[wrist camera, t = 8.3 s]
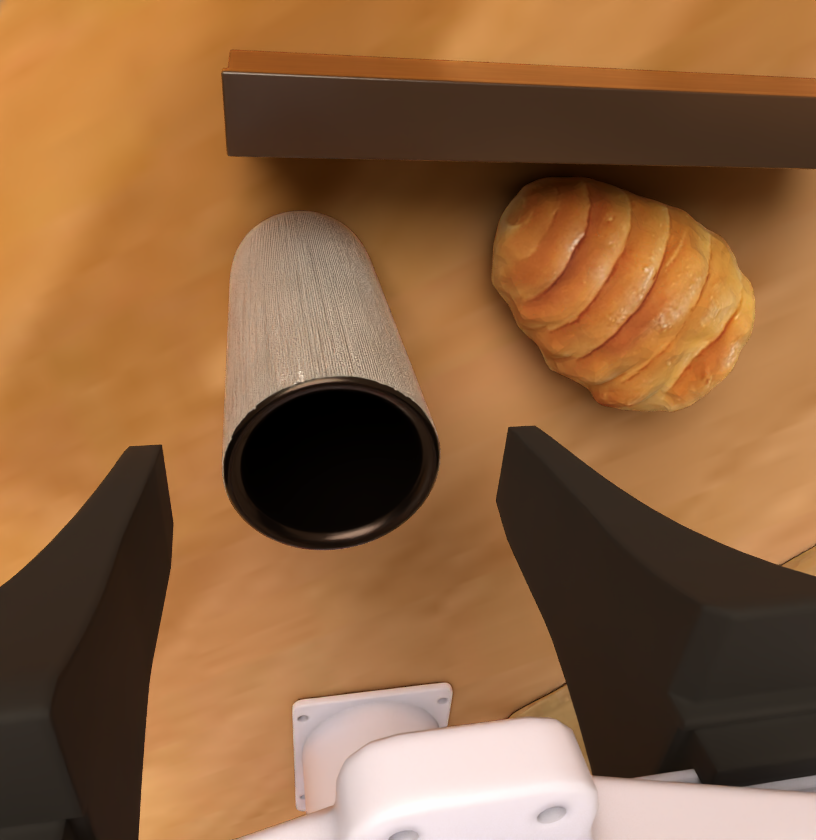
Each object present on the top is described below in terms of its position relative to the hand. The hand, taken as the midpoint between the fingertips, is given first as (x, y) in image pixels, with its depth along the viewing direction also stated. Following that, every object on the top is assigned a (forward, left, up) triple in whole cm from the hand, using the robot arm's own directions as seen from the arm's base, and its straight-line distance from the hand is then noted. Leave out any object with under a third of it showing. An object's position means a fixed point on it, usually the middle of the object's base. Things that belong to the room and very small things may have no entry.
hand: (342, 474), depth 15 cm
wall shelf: (+6, -7, -10) cm, 14 cm away
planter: (0, 0, -10) cm, 10 cm away
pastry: (0, -10, -10) cm, 15 cm away
